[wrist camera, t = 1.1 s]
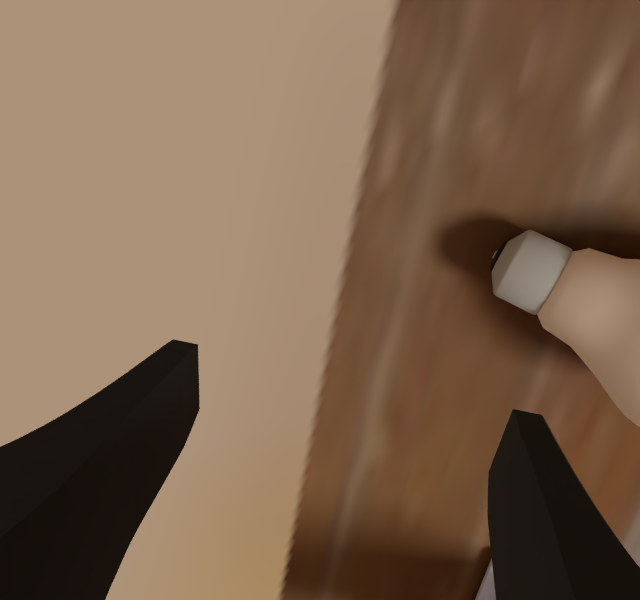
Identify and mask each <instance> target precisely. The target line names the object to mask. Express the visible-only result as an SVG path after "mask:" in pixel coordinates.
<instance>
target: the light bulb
mask: <svg viewBox="0 0 640 600" xmlns="http://www.w3.org/2000/svg"><path fill="white" fill-rule="evenodd" d="M492 258H493V262H492V265H491V271H492V283H493V293H494V295H495V296H497V297H499V298H501V299H503V300H505V301H507V302H509V303H511V304H513V305H515V306H517V307H519V308H521V309H523V310H525V311H527V312H529V313H531V314H533V315H536V314H537V315H538V318H539V320H540V322H541V324H542V327H543V328H544V329H545V330H547V331H548V332H550V333H551V334H553V335H554V336H556V337H557V338H559V339H560V340H562V341H563V342H565V343H566V344H567V345H569V346H570V347H571V348H572V349H573V350H574V351H575V352H576V354H577V355H578V356H579V357H580V358H581V359H582V361H583V362H584V363H585V364H586V365H587V367H588V368H589V369H590V370H591V371H592V373H593V374H594V375H595V377H596V378H597V379H598V381H599V382H600V384H601V385H602V386H603V388H604V389H605V390H606V392H607V393H608V395H609V396H610V397H611V399H612V400H613V401H614V403H615V404H616V406H617V407H618V408H619V409H620V411H621V412H622V413H623V414H624V415H625V416H626V417H627V418H628V419H630V420H631V421H632V422H633V423H635V424H636V425H637V426H639V427H640V259H622V258H619V257H616V256H613V255H609V254H606V253H603V252H600V251H597V250H593V249H590V248H587V249H583V250H578V251H573V250H572V249H571V248H569V247H567V246H565V245H563V244H561V243H559V242H556V241H554V240H552V239H550V238H548V237H546V236H544V235H541V234H539V233H537V232H535V231H533V230H527V231H525V232H524V233H522V234H520V235H519V236H517V237H515V238H513V239H512V240H510V241H508V242H505V243H504V244H503V245H502V246H501V247H500V249H499V250H498V251H495V253H494V255H493V257H492Z"/></svg>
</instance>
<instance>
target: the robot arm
mask: <svg viewBox="0 0 640 600" xmlns="http://www.w3.org/2000/svg"><path fill="white" fill-rule="evenodd" d="M198 411H199V374H198V345H197V344H192V343H188V342H182V341H178V340H171V341H170V342H168V343H167V344H166V345H164V346H163V347H161V348H160V349H159V350H157V351H156V352H155V353H153V354H152V355H150V356H149V357H148V358H146V359H145V360H144V361H142V362H141V363H139V364H138V365H137V366H135V367H134V368H133V369H131V370H130V371H129V372H127V373H126V374H124V375H123V376H121V377H120V378H118V379H117V380H116V381H115V382H113V383H111V384H110V385H108V386H107V387H105V388H104V389H103V390H101V391H100V392H98V393H97V394H95V395H94V396H92V397H90V398H89V399H87V400H86V401H84V402H82V403H81V404H79V405H78V406H77V407H75V408H73V409H71V410H70V411H68V412H67V413H65V414H63V415H62V416H60V417H58V418H56V419H55V420H53V421H51V422H49V423H47V424H46V425H44V426H42V427H40V428H38V429H36V430H34V431H33V432H30V433H28V434H26V435H25V436H23V437H21V438H19V439H17V440H14V441H12V442H10V443H8V444H6V445H3V446H1V447H0V600H105V599H106V596H107V594H108V591H109V589H110V587H111V584H112V582H113V580H114V578H115V575H116V573H117V571H118V569H119V566H120V564H121V562H122V559H123V557H124V555H125V553H126V550H127V548H128V546H129V544H130V542H131V541H132V539H133V537H134V535H135V533H136V531H137V529H138V527H139V525H140V523H141V522H142V520H143V518H144V517H145V515H146V513H147V511H148V509H149V508H150V506H151V504H152V502H153V501H154V499H155V497H156V496H157V494H158V492H159V490H160V489H161V487H162V485H163V483H164V481H165V480H166V478H167V476H168V474H169V473H170V471H171V469H172V467H173V465H174V464H175V462H176V460H177V458H178V457H179V455H180V453H181V451H182V449H183V448H184V445H185V443H186V440H187V438H188V436H189V434H190V431H191V429H192V426H193V424H194V421H195V418H196V416H197V414H198ZM488 525H489V536H490V546H491V556H492V559H491V561H490V564H489V566H488V568H487V571H486V573H485V576H484V578H483V581H482V583H481V586H480V588H479V591H478V593H477V596H476V598H475V600H640V567H639V566H638V565H637V564H636V563H635V561H634V560H633V559H632V558H631V556H630V555H629V554H628V552H627V551H626V549H625V548H624V547H623V545H622V544H621V543H620V541H619V540H618V538H617V537H616V536H615V534H614V533H613V531H612V530H611V528H610V527H609V526H608V524H607V523H606V521H605V520H604V518H603V517H602V515H601V514H600V512H599V511H598V509H597V508H596V506H595V505H594V503H593V501H592V500H591V498H590V497H589V495H588V493H587V492H586V490H585V489H584V487H583V485H582V484H581V482H580V481H579V479H578V477H577V476H576V474H575V472H574V471H573V469H572V467H571V466H570V464H569V462H568V460H567V459H566V457H565V455H564V453H563V452H562V450H561V448H560V446H559V445H558V443H557V441H556V439H555V437H554V436H553V434H552V432H551V430H550V428H549V426H548V425H547V423H546V421H545V419H544V418H543V416H542V415H539V414H534V413H529V412H524V411H520V410H515V409H513V410H512V413H511V416H510V418H509V421H508V423H507V426H506V429H505V431H504V434H503V436H502V439H501V441H500V444H499V447H498V449H497V452H496V454H495V457H494V460H493V462H492V465H491V467H490V470H489V479H488Z"/></svg>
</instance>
